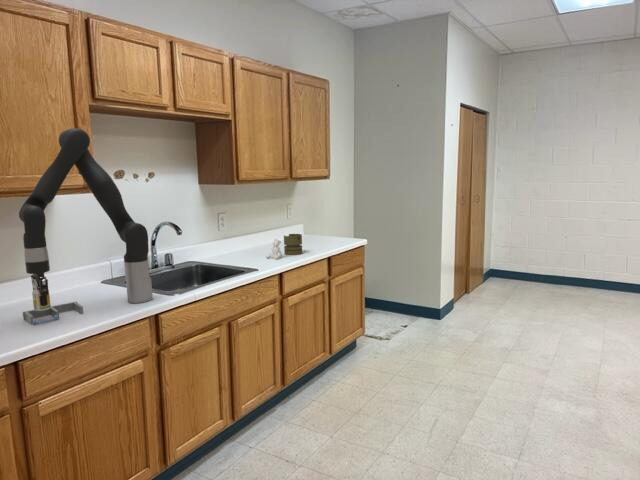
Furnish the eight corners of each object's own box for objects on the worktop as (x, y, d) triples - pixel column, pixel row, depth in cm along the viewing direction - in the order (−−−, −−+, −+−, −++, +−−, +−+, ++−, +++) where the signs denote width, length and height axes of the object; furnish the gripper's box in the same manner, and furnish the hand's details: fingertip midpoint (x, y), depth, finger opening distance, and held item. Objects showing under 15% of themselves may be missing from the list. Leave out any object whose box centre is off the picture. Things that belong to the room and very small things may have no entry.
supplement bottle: (53, 306, 182) (50, 281, 180) (46, 311, 176) (43, 285, 175) (39, 307, 181) (36, 282, 180) (31, 311, 176) (28, 285, 175)
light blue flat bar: (58, 319, 181) (57, 314, 181) (59, 319, 180) (58, 315, 180) (32, 324, 175) (32, 319, 175) (33, 325, 174) (32, 320, 174)
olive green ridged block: (280, 235, 300) (290, 233, 309) (280, 254, 302) (291, 251, 311) (295, 236, 294) (305, 234, 303) (295, 256, 296) (305, 252, 305)
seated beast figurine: (265, 258, 290) (264, 239, 288) (275, 256, 296) (274, 237, 295) (275, 260, 284) (274, 240, 282) (286, 258, 290) (285, 238, 288)
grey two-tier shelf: (77, 308, 194) (76, 301, 194) (84, 313, 187) (84, 306, 187) (23, 319, 182) (22, 311, 181) (29, 325, 175) (28, 317, 174)
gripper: (53, 260, 173) (58, 305, 176) (43, 255, 184) (48, 298, 186) (30, 263, 168) (35, 310, 171) (20, 258, 179) (26, 302, 181)
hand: (42, 303), depth 179 cm, fingers closed on supplement bottle, 5 cm apart
